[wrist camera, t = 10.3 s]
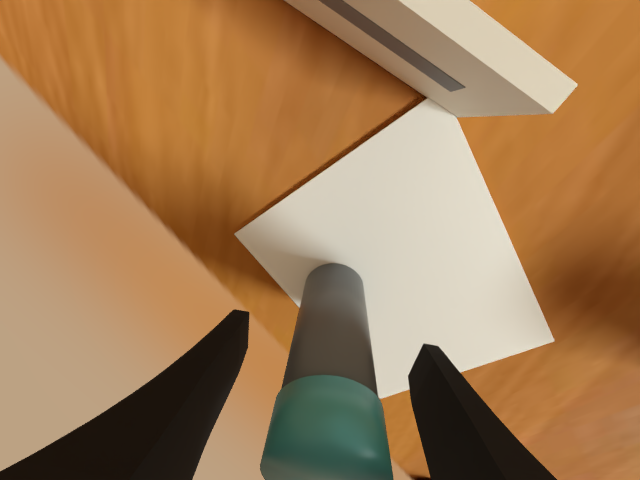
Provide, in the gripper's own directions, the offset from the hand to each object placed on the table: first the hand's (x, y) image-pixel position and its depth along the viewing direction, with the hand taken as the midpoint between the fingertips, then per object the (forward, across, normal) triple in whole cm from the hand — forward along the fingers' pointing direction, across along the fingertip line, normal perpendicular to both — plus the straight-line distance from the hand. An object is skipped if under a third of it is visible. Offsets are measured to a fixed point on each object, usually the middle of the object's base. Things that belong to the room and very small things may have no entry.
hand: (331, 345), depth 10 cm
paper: (+4, -4, -1) cm, 5 cm away
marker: (+4, 0, 0) cm, 4 cm away
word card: (+4, 0, -11) cm, 11 cm away
